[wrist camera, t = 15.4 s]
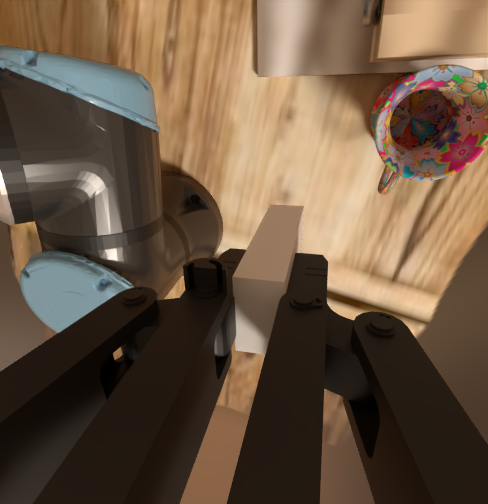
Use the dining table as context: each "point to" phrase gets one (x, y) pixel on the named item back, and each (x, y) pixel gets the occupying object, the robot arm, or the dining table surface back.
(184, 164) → the dining table surface
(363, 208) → the dining table surface
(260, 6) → the block
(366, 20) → the pin
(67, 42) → the dining table surface
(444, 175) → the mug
